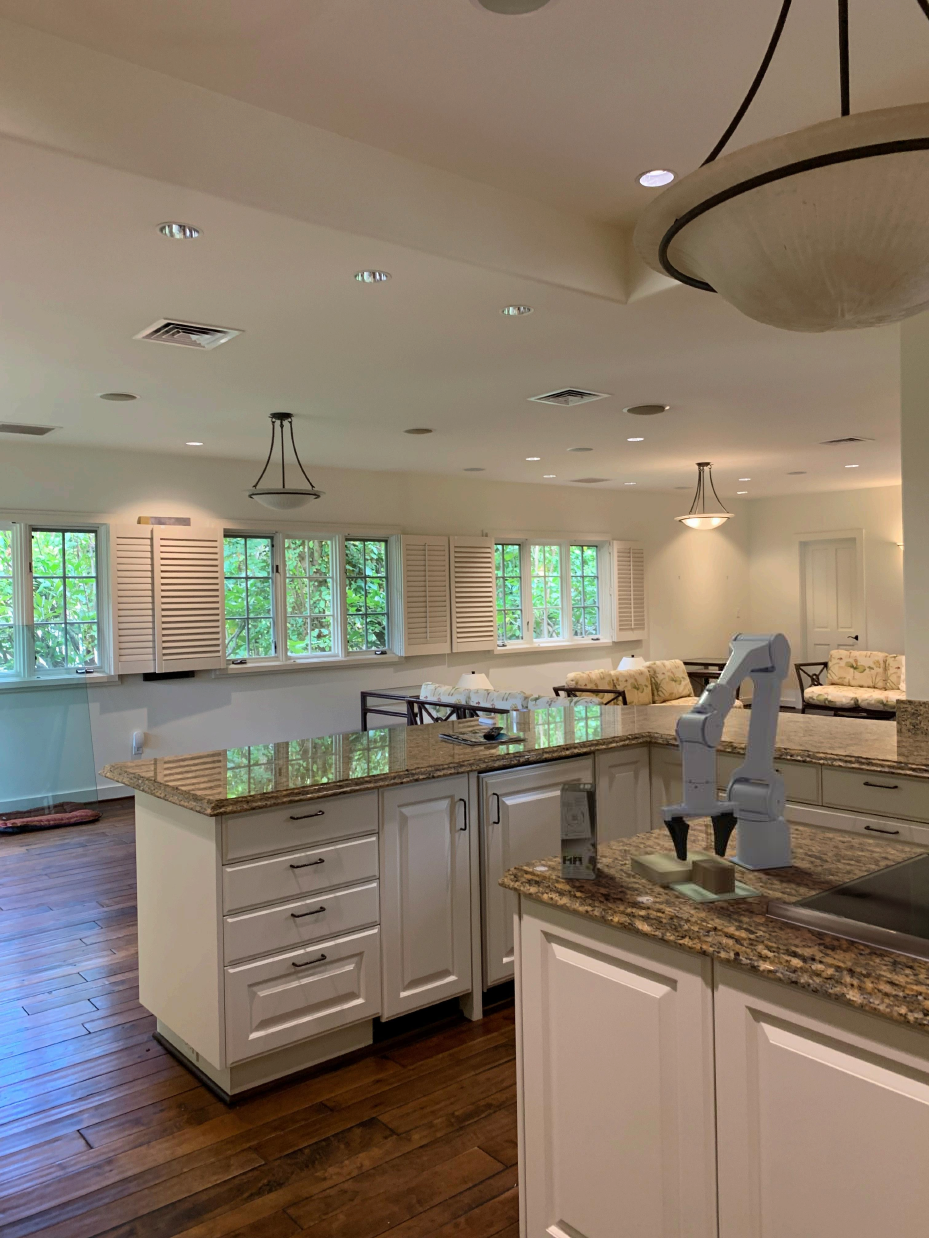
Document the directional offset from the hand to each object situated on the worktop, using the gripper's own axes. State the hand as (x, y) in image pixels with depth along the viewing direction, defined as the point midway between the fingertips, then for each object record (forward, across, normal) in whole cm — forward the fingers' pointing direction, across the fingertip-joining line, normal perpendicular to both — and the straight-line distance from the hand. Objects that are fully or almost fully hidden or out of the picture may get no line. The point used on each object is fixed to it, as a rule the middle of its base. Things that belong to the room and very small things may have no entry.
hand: (701, 857), depth 156 cm
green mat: (+5, 0, +4) cm, 6 cm away
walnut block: (+2, 0, 0) cm, 2 cm away
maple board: (+5, 0, -7) cm, 8 cm away
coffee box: (+5, +17, -14) cm, 23 cm away
